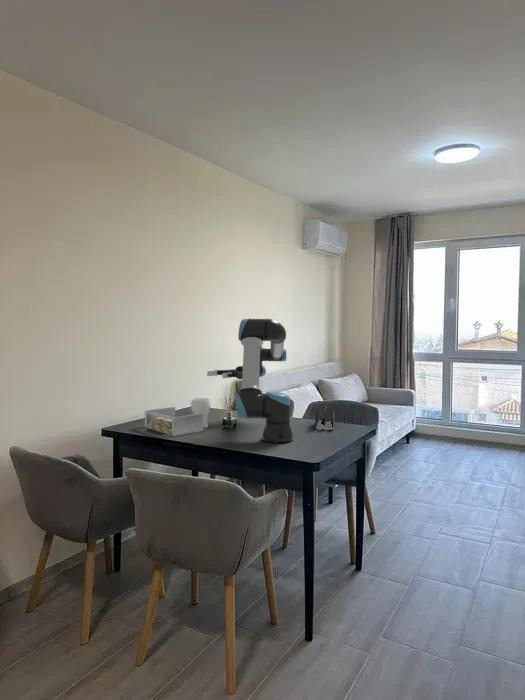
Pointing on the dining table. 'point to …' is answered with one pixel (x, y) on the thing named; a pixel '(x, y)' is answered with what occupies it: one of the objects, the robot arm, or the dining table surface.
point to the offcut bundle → (162, 424)
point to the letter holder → (324, 415)
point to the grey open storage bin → (175, 421)
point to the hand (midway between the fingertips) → (214, 374)
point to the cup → (201, 408)
